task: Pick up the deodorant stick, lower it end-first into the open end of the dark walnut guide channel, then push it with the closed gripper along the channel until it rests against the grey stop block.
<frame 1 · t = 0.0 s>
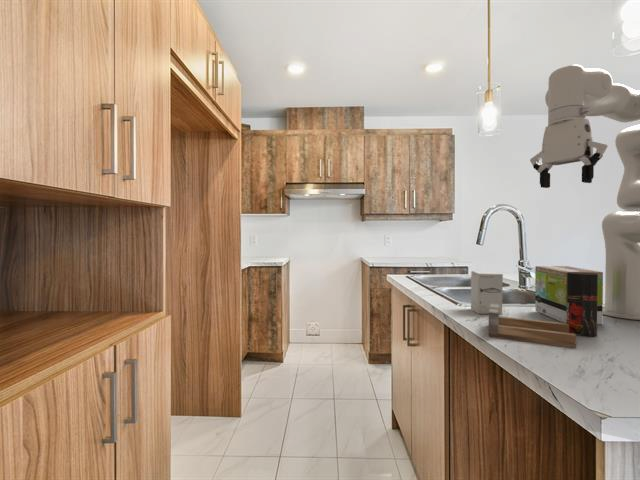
hand: (565, 185, 86), 37 cm above the countertop, tool pointing down, fingers open, 9 cm apart
deodorant: (581, 334, 83), on the countertop
channel: (528, 334, 82), on the countertop
tea box: (566, 318, 98), on the countertop
supplement box: (486, 312, 106), on the countertop
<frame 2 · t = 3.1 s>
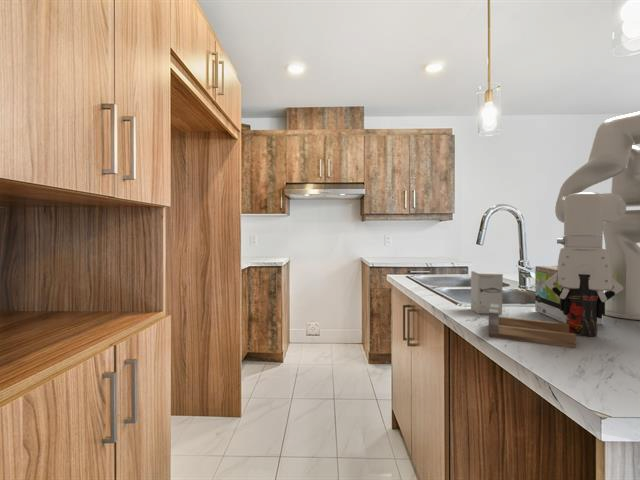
hand: (581, 314, 83), 5 cm above the countertop, tool pointing down, fingers closed on deodorant, 5 cm apart
deodorant: (581, 334, 83), on the countertop, touching gripper
everything else where it was.
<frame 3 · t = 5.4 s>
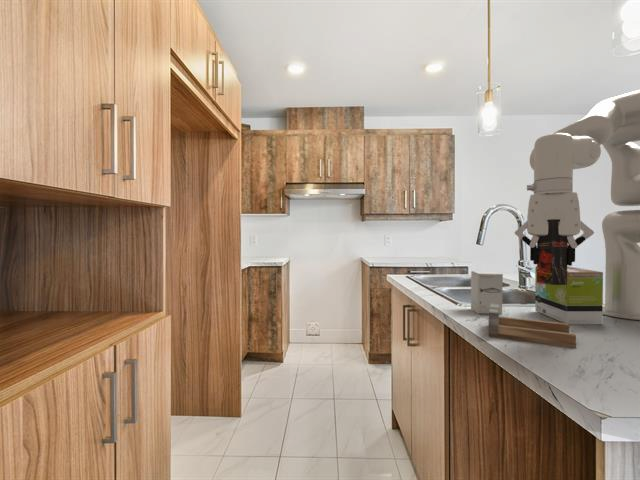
hand: (551, 263, 79), 18 cm above the countertop, tool pointing down, fingers closed on deodorant, 5 cm apart
deodorant: (551, 283, 79), point 13 cm above the countertop, touching gripper
everything else where it was.
when the fingers open (6 cm above the countertop, at t = 7.8 s): deodorant stays where it is, resting on channel.
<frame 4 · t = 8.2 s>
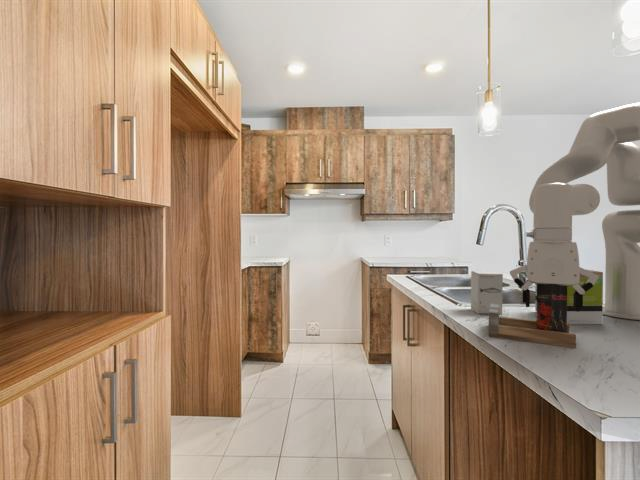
hand: (551, 308, 79), 7 cm above the countertop, tool pointing down, fingers open, 9 cm apart
deodorant: (551, 335, 79), point 1 cm above the countertop, touching channel
everything else where it was.
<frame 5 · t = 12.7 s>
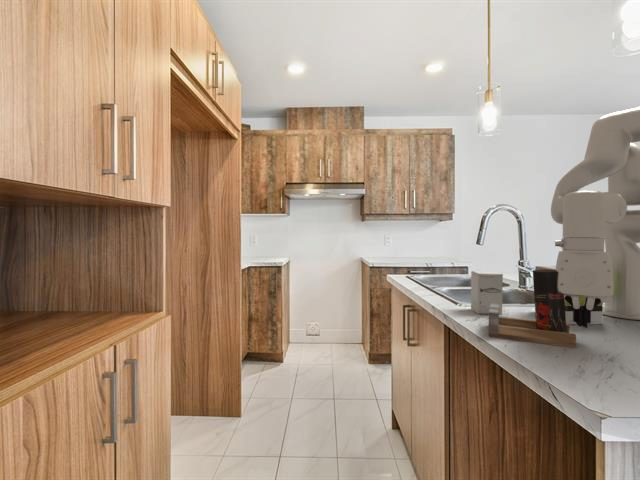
hand: (581, 325, 76), 4 cm above the countertop, tool pointing down, fingers closed
deodorant: (551, 334, 79), point 1 cm above the countertop, touching channel, gripper
everything else where it was.
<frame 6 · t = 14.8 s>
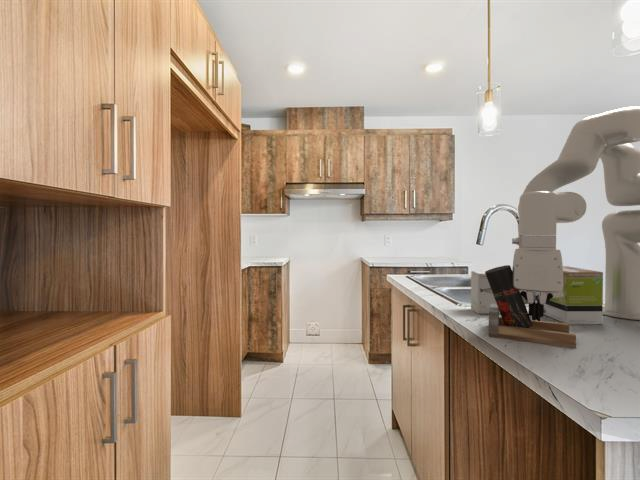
hand: (535, 319, 80), 4 cm above the countertop, tool pointing down, fingers closed
deodorant: (519, 327, 83), point 2 cm above the countertop, touching channel, gripper
everything else where it was.
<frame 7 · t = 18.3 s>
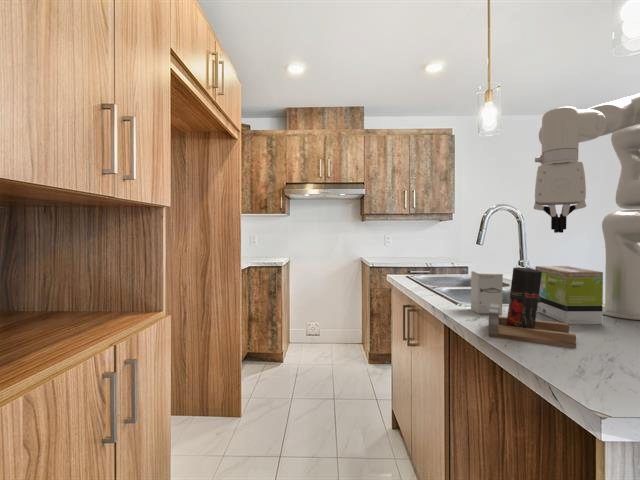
hand: (558, 232, 84), 25 cm above the countertop, tool pointing down, fingers closed
deodorant: (519, 330, 83), point 1 cm above the countertop, touching channel
everything else where it was.
at the end: deodorant 1.4 cm from the target spot on the channel, point 0.9 cm above the channel's base; deodorant tilted 5° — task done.
